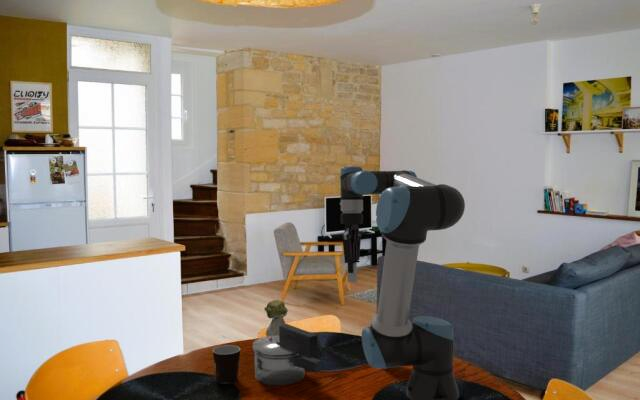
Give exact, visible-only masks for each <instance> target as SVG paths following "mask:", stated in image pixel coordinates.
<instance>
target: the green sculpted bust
mask: <svg viewBox="0 0 640 400" xmlns="http://www.w3.org/2000/svg"><path fill="white" fill-rule="evenodd" d="M264 311H265V312H266V315H267V316H266V317H267V318H268V319H271V321H270V322H269V323H270V324H269V325H268V326H267V329H266V330H265V331H264V332H265V333H264V334H265V336H266V337H267V336H274V335H279V326H281V325H285V324H287V323H286V322H285V319H284V317H286V316H287V315H288V311H289V309H287V307H286V305H285V303H284V301H283V300H281V299H280V300H279V299H273V300H271V301H269V302H267V304H266V306H265V307H264Z"/></svg>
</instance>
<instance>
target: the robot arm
mask: <svg viewBox="0 0 640 400" xmlns="http://www.w3.org/2000/svg"><path fill="white" fill-rule="evenodd" d="M339 181H340V202H339V205H340V211H341V212H342V213H341V214H340V224H342V225H345V226H344V233H341V240H342V248H343V256H344V258H343V259H344V264H347V283H353V284H354V283H356V284H357V283H358V275H357V274H358V267H357V266H358V263H360V256H361V255H360V254H361V244H362V243H361V242H362V240H361V239H362V236H363V232H362V231H360V228H359V225H362V224H363V223H364V214H363V213H362V212H363V211H364V198H363V197H364V196H366V195H368V196H369V195H379V198H378V200H377V205H376V209H375V216H376V218H375V221H376V226H377V228H378V230H379V231H380V232H381V236H382V237H383V238H384V239H385V240H386V245H385V251H384V258H383V266H382V276H381V284H380V290H379V291H380V292H379V299H378V306H377V313H376V314H375V315H373V316H372V317H371V320H370V326H365V327H364V328H362V330H361V345H362V348H363V353H364V357H365V358H366V361H367V363H368V366H370V367H371V369H372V368H373V369H375V370H377V369H379V370H380V369H382V370H383V369H384V370H386V369H387V368H388V369H393V367H394V368H401V367H402V368H403V367H412V370H411V374H410V377H409V379H408V383H407V385H406V393H405V394H406V395H407V396H406V395H405V396H406V398H407V397H408V398H409V399H410V400H458V398H459V399H460V391H459V387H458V384H457V381H456V378H455V373H454V351H455V349H454V347H455V342H454V341H455V332H454V327H453V324H451V322H449V321H447V320H445V319H443V318H439V317H435V316H427V315H426V316H425V315H417V316H414V317H413V319H412V322H411V320H409V315H410V308H411V302H412V294H413V288H414V284H415V283H414V282H415V276H416V275H415V274H416V270H417V262H418V256H419V248H420V245H422V244H423V243H425V242H426V240H427V234H428V231H441V230H447V229H449V228H452V227H453V226H455V225H456V224H458V223H459V221H460V220H461V219H462V217H463V215H464V213H465V209H466V203H465V199H464V197H463V194H462V193H461V192H460V191H459V189H457V188H455V187H453V186H450V185H447V184H440V183H439V184H434V183H432V182H430V181H426V180H425V179H421V178H419V177H418V176H417V174H416V173H415V172H414V171H412V170H403V169H402V170H363V167H361V166H342V167H341V169H340V175H339ZM408 398H407V399H408ZM409 399H408V400H409Z"/></svg>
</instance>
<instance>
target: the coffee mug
mask: <svg viewBox="0 0 640 400" xmlns="http://www.w3.org/2000/svg"><path fill="white" fill-rule="evenodd" d="M240 356H241V347H239V346H237V345H235V344H233V345H232V344H225V345H224V344H223V345H220V346H216V347H214V348H213V349H212V357H213V364H214V365H213V366H214V371H215V377H216V378H215V379H216V381H217V380H218V381H219V382H230V383H233V384H235V383H237V382H238V378H239V377H238V375H239V369H240V366H239V365H240V358H241V357H240Z"/></svg>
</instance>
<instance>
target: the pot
mask: <svg viewBox="0 0 640 400" xmlns="http://www.w3.org/2000/svg"><path fill="white" fill-rule="evenodd" d="M253 353H254V378H255V380H256V381H257V382H260V383H262V384H266V385H271V386H285V385H291V384H294V383H298V382H300V381H301V380H303V379H304V378H305V375H306V373H305V371H309V372H312V373H315V374H316V373H318V372H321V371H323V364H322V362H323V361H322V360H321V359H318V358H316V357H313V358H307V357H305V356H303V355H300V354H294V355H289V356H266V355H262V354H258V353H256V352H255V351H254V350H253Z"/></svg>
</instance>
